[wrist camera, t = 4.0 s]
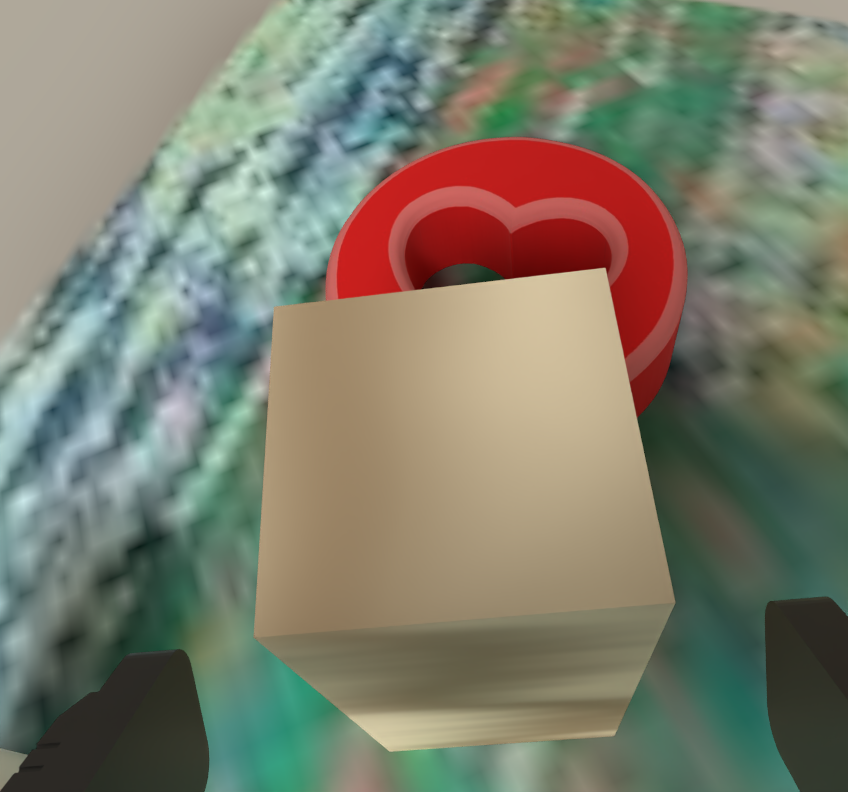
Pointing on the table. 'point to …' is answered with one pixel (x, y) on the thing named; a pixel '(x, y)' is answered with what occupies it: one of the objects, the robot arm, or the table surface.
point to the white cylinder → (9, 764)
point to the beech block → (460, 512)
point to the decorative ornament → (525, 235)
